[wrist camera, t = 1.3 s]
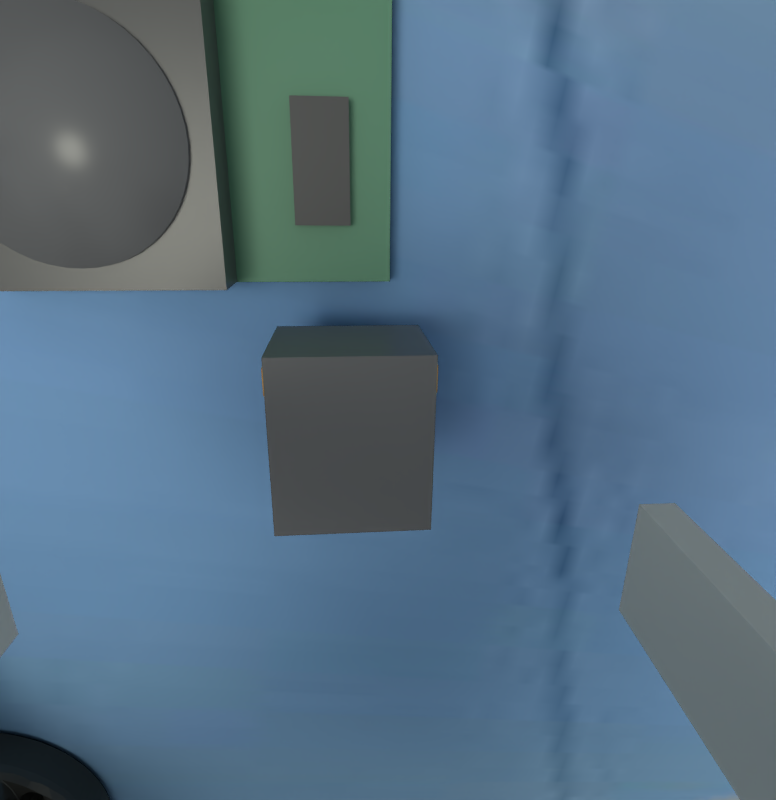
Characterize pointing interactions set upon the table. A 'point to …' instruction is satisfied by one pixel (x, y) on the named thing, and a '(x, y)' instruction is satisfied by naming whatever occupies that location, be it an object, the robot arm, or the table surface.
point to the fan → (112, 147)
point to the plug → (350, 428)
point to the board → (307, 137)
